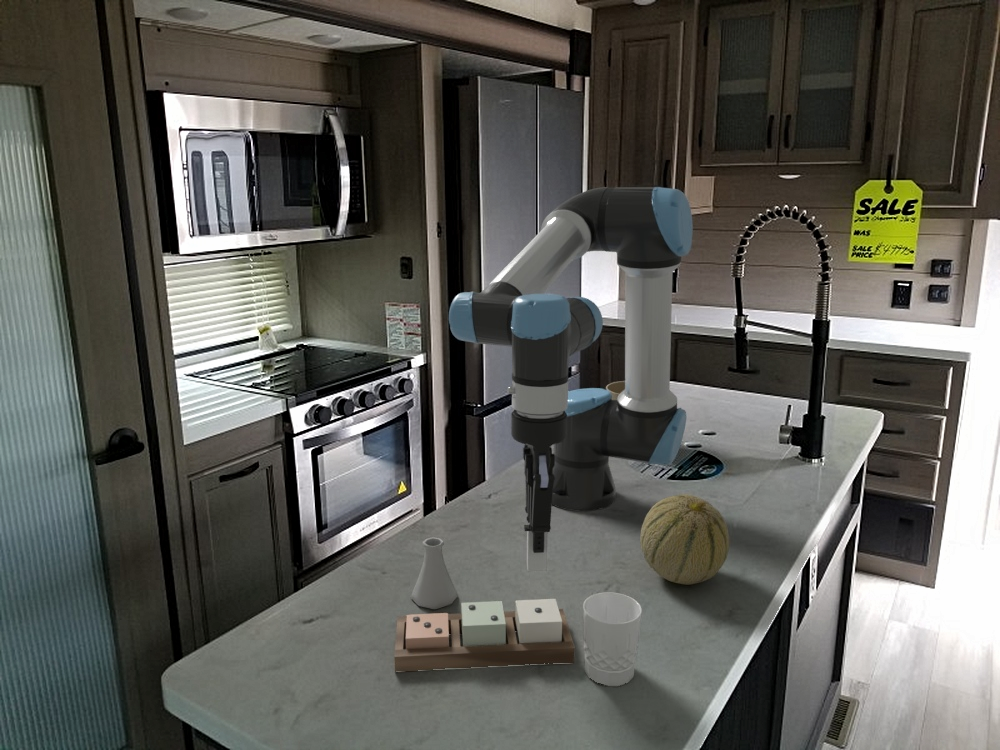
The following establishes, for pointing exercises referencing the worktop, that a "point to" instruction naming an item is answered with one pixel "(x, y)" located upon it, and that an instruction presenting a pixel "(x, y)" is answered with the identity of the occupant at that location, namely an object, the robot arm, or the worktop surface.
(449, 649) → the board
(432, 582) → the flask
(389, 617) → the worktop surface
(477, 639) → the tile
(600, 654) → the white cup
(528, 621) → the tile
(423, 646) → the three-pip tile
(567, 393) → the robot arm
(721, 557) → the cantaloupe
